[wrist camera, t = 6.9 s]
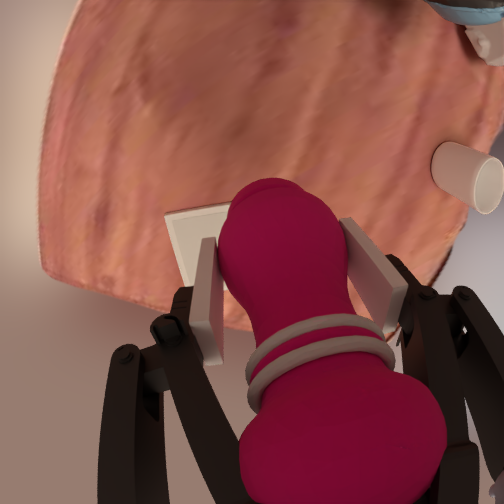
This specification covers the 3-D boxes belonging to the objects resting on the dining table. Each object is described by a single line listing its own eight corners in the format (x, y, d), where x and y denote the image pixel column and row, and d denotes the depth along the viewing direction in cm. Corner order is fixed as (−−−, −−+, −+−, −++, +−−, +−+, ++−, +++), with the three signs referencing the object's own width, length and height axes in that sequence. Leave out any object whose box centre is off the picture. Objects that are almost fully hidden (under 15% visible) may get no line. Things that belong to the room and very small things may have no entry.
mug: (442, 130, 35) (489, 145, 25) (474, 164, 38) (515, 184, 28) (421, 173, 39) (465, 198, 29) (455, 202, 43) (493, 229, 32)
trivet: (165, 213, 40) (163, 215, 39) (264, 197, 40) (265, 199, 39) (188, 291, 48) (187, 295, 47) (273, 279, 48) (274, 283, 47)
